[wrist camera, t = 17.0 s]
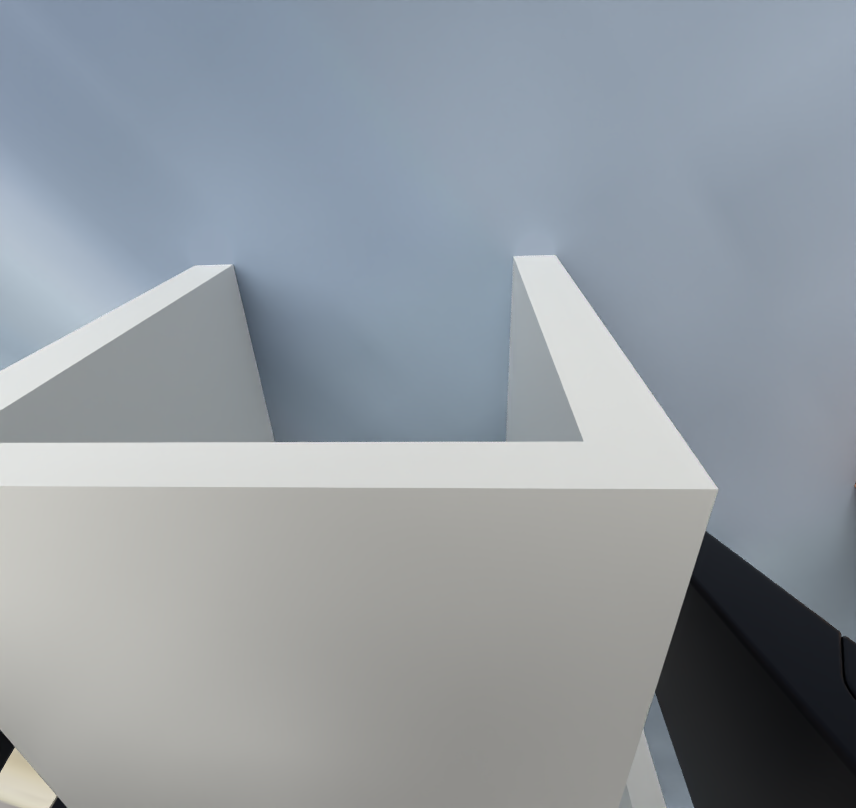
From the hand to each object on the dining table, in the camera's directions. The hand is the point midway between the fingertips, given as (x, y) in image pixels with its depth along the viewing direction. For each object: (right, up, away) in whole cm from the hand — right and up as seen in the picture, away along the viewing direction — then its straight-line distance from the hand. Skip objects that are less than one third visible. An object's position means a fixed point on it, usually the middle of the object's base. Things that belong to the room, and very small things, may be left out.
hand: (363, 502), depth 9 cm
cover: (0, +2, +3) cm, 3 cm away
